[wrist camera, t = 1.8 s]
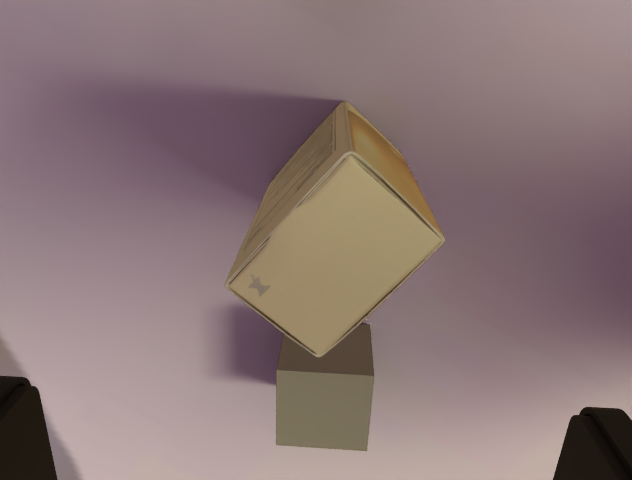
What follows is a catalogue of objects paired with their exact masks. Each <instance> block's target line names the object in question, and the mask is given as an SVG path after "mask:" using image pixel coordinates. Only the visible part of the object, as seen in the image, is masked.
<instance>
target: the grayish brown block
mask: <svg viewBox="0 0 632 480" xmlns="http://www.w3.org/2000/svg"><path fill="white" fill-rule="evenodd" d="M373 382H374V369H373V357H372V344H371V331H370V325H368V324H360V325H359V326H357V327H356V328H355V329H354V330H353V331H352V332H351V333H349V334H348V335H347V336H346V337H345V338H344V339H342V340H341V341H340V342H339V343H338V344H336V345H335V346H334V347H333V348H332V349H330V350H329V351H328V352H327V353H325V354H324V355H323V356H321V357H316V356H314V355H313V354H311V353H310V352H309V351H307V350H306V349H305V348H303V347H302V346H300V345H298V344H297V343H296V342H294V341H293V340H291V339H290V338H289V337H288V336H286V335H285V334H284V335H283V340H282V345H281V350H280V355H279V360H278V365H277V376H276V445H283V446H298V447H313V448H328V449H343V450H359V451H367V445H368V435H369V424H370V413H371V403H372V392H373Z"/></svg>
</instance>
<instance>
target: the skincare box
mask: <svg viewBox="0 0 632 480" xmlns="http://www.w3.org/2000/svg"><path fill="white" fill-rule="evenodd" d="M444 242H445V238H444V235H443V233H442V232H441V230H440V228H439V226H438V224H437V222H436V220H435V218H434V216H433V214H432V212H431V210H430V208H429V206H428V204H427V202H426V200H425V198H424V196H423V194H422V193H421V190H420V188H419V187H418V184H417V182H416V181H415V179H414V177H413V175H412V173H411V171H410V169H409V167H408V165H407V163H406V161H405V159H404V157H403V155H402V154H401V153H400V152H399V151H398V150H397V149H396V148H395V147H394V146H393V145H392V144H391V143H390V142H389V141H388V140H387V139H386V138H385V137H384V136H383V135H382V134H381V133H380V132H379V131H378V130H377V129H376V128H375V127H374V126H373V125H372V124H371V123H370V122H369V121H368V120H367V119H366V118H365V117H364V116H362V115H361V114H360V113H359V112H358V111H357V110H356V109H355V108H354V107H353V106H352V105H351V104H349V103H348V102H346V101H344V102H341V103H340V104H339V105H338V106H337V107H336V108H335V110H334V111H333V112H332V113H331V114H330V115H329V116H328V117H327V118H326V119H325V120H324V121H323V122H322V123H321V125H320V126H319V127H318V128H317V129H316V130H315V131H314V132H313V133H312V135H311V136H310V137H309V138H308V139H307V140H306V141H305V143H304V144H303V145H302V146H301V147H300V148H299V149H298V151H297V152H296V153H295V154H294V155H293V156H292V157H291V159H290V160H289V161H288V162H287V163H286V165H285V166H284V167H283V168H282V169H281V171H280V172H279V173H278V174H277V175H276V177H275V178H274V179H273V180H272V182H271V183H270V184H269V186H268V188H267V191H266V193H265V195H264V197H263V200H262V202H261V204H260V206H259V209H258V211H257V213H256V215H255V217H254V220H253V222H252V224H251V226H250V229H249V231H248V233H247V235H246V237H245V239H244V242H243V244H242V246H241V248H240V251H239V253H238V255H237V257H236V260H235V262H234V264H233V266H232V268H231V271H230V273H229V275H228V278H227V280H226V282H225V287H226V288H227V289H228V290H229V291H230V292H232V293H233V294H234V295H235V296H237V297H238V298H239V299H241V300H242V301H243V302H244V303H245V304H246V305H248V306H249V307H251V308H252V309H253V310H254V311H256V312H257V313H258V314H259V315H260V316H262V317H263V318H264V319H266V320H267V321H268V322H269V323H271V324H272V325H273V326H275V327H276V328H277V329H278V330H280V331H281V332H282V333H284V334H285V335H286V336H288V337H289V338H290V339H291V340H293V341H294V342H296V343H297V344H298V345H300V346H302V347H303V348H305V349H306V350H307V351H309V352H310V353H311V354H313V355H314V356H316V357H321V356H323V355H324V354H325V353H327V352H328V351H329V350H330V349H332V348H333V347H334V346H335V345H336V344H338V343H339V342H340V341H341V340H342V339H344V338H345V337H346V336H347V335H348V334H349V333H351V332H352V331H353V330H354V329H355V328H356V327H357V326H359V325H360V324H361V323H362V322H363V321H364V320H365V319H366V318H367V317H368V316H369V315H370V314H371V313H372V312H373V311H374V310H376V309H377V308H378V307H379V306H380V305H381V304H382V303H383V302H384V301H385V300H386V299H387V298H388V297H389V296H390V295H391V294H392V293H394V292H395V291H396V290H397V289H398V288H399V287H400V286H401V285H402V284H403V283H404V282H405V281H406V280H407V279H408V278H409V277H410V276H411V275H412V274H413V273H414V272H415V271H416V270H417V269H418V268H419V267H420V266H421V265H422V264H423V263H424V262H425V261H426V260H427V259H428V258H429V257H430V256H431V255H432V254H433V253H434V252H435V251H436V250H437V249H438V248H439V247H440V246H441V245H442V244H443V243H444Z"/></svg>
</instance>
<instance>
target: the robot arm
mask: <svg viewBox="0 0 632 480" xmlns="http://www.w3.org/2000/svg"><path fill="white" fill-rule="evenodd" d="M0 480H57V476H56V471H55V466H54V461H53V456H52V451H51V447H50V442H49V437H48V432H47V428H46V423H45V418H44V413H43V408H42V404H41V399H40V394H39V391H38V389H37V388H36V387H34V386H31V384H30V382H29V380H28V379H27V378H24V377H11V376H0ZM553 480H632V420H631V419H630V418H629V416H628V415H627V414H626V413H625V412H624V411H623V410H621V409H616V408H597V407H585V408H583V409H582V410H581V412H580V414H579V415H573V416H572V417H571V419H570V422H569V425H568V429H567V432H566V436H565V439H564V443H563V446H562V450H561V453H560V457H559V460H558V464H557V467H556V471H555V474H554V478H553Z"/></svg>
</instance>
